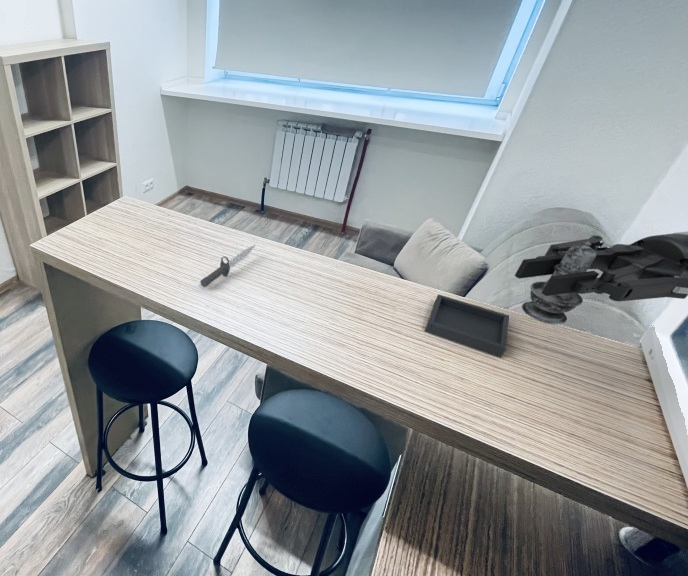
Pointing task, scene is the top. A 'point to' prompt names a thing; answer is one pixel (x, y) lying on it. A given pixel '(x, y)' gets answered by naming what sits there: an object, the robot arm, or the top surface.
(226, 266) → the knife
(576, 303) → the salt shaker
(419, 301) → the top surface
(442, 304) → the serving tray
